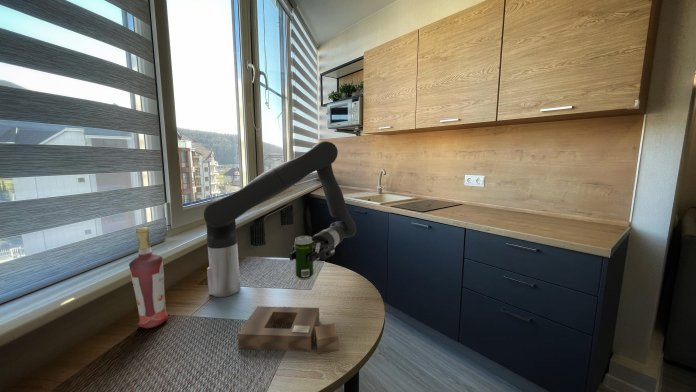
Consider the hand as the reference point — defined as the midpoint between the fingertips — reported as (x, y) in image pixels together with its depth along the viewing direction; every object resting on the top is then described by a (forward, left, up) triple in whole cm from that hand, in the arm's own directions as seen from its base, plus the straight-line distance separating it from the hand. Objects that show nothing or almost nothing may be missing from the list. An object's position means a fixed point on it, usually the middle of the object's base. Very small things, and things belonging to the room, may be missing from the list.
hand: (299, 258), depth 75 cm
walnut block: (+9, -13, -18) cm, 24 cm away
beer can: (+1, +2, -7) cm, 7 cm away
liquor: (-41, -7, -18) cm, 45 cm away
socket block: (-3, -9, -17) cm, 20 cm away
